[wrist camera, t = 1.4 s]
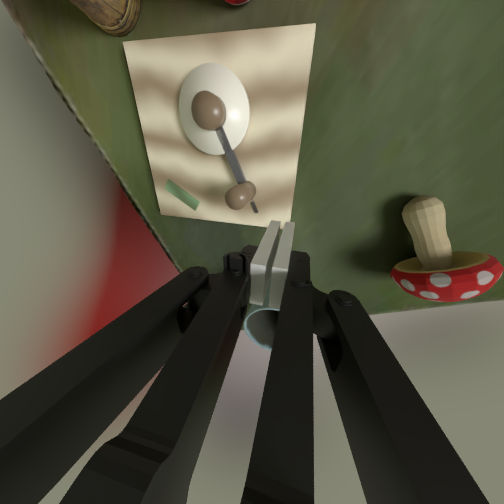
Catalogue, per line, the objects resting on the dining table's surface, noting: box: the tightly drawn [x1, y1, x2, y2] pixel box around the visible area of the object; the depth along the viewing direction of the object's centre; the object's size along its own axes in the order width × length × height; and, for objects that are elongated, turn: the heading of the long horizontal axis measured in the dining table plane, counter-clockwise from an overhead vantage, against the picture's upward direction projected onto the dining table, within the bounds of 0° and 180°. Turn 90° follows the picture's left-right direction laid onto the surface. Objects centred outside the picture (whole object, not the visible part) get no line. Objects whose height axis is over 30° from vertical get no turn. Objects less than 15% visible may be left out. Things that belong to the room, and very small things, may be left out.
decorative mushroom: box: [391, 195, 504, 302], centre depth 26 cm, size 11×11×15 cm
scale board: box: [123, 23, 316, 229], centre depth 30 cm, size 24×25×2 cm
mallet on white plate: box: [179, 63, 256, 210], centre depth 25 cm, size 18×10×6 cm, turn 23°
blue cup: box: [244, 273, 280, 351], centre depth 36 cm, size 10×10×12 cm
